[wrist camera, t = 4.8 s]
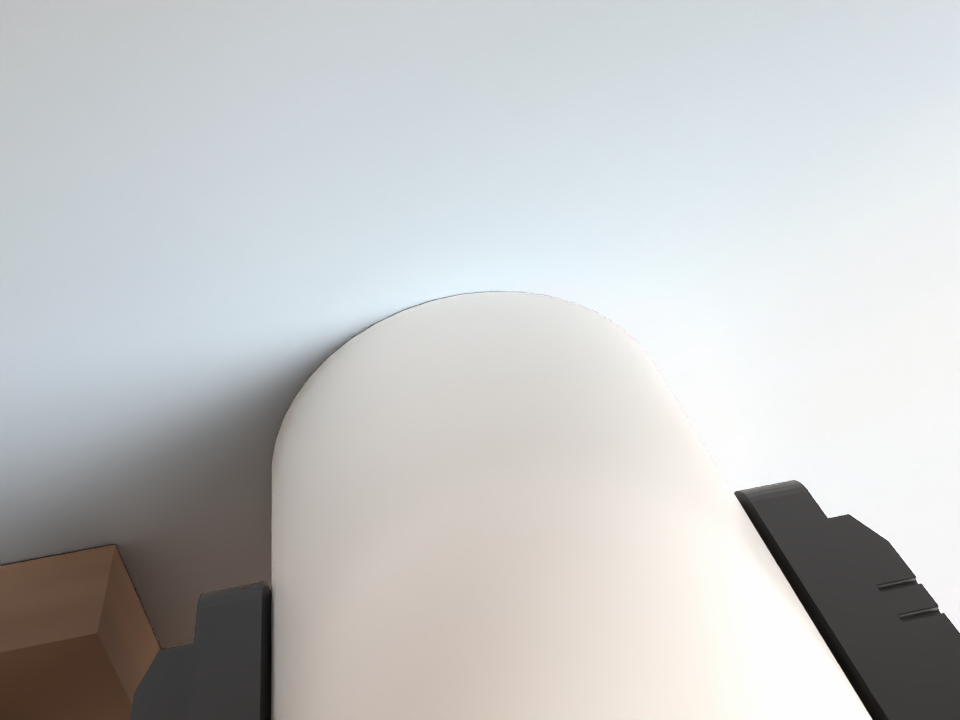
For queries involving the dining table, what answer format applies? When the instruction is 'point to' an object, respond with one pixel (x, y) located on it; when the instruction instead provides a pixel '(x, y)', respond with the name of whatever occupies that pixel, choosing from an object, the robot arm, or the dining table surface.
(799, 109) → the dining table surface
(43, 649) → the holder
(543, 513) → the roll
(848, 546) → the robot arm
